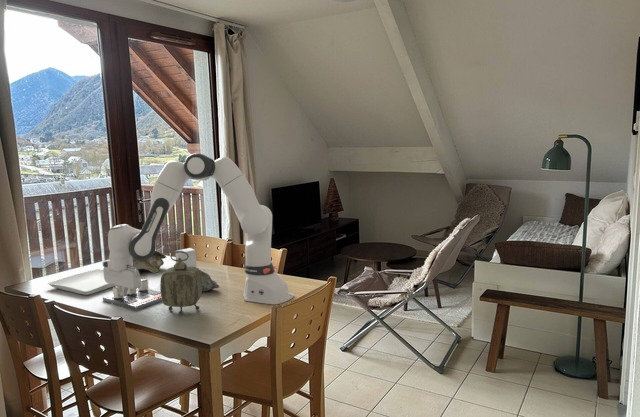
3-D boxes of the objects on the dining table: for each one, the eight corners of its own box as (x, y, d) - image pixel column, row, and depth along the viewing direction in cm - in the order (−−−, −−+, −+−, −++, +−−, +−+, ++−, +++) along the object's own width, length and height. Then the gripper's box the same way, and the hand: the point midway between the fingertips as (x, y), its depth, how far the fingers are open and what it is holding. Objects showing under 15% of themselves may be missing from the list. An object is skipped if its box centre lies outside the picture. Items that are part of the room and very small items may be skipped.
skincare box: (192, 276, 242) (190, 247, 239) (197, 279, 237) (196, 249, 235) (176, 279, 236) (174, 250, 234) (181, 282, 232) (179, 252, 230)
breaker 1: (136, 292, 210) (135, 283, 209) (130, 294, 207) (129, 284, 207) (132, 291, 211) (131, 281, 211) (126, 293, 209) (125, 283, 208)
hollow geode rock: (117, 277, 259) (101, 262, 248) (128, 256, 266) (112, 241, 255) (161, 279, 250) (146, 264, 239) (171, 258, 257) (157, 242, 246)
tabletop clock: (203, 308, 196) (200, 248, 192) (198, 316, 187) (195, 253, 183) (167, 309, 195) (163, 248, 192) (160, 317, 186) (156, 254, 183)
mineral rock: (220, 291, 218) (219, 269, 217) (201, 297, 210) (200, 275, 208) (202, 286, 226) (201, 265, 225) (183, 291, 218) (182, 270, 216)
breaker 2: (148, 288, 215) (147, 279, 214) (142, 290, 212) (141, 281, 212) (143, 287, 216) (143, 278, 216) (138, 289, 214) (137, 280, 213)
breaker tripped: (124, 296, 205) (123, 286, 204) (117, 298, 202) (117, 288, 202) (119, 295, 206) (119, 285, 206) (113, 297, 204) (112, 287, 203)
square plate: (47, 290, 223) (46, 282, 222) (98, 275, 247) (97, 268, 246) (86, 299, 210) (85, 290, 210) (136, 282, 234) (135, 274, 234)
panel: (171, 298, 209) (171, 293, 209) (135, 310, 194) (135, 306, 194) (139, 289, 221) (138, 285, 220) (103, 301, 206) (102, 296, 206)
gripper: (143, 265, 197) (145, 297, 199) (113, 258, 208) (115, 289, 210) (130, 268, 192) (132, 302, 194) (99, 262, 203) (102, 293, 205)
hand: (123, 295), depth 202 cm, fingers closed
